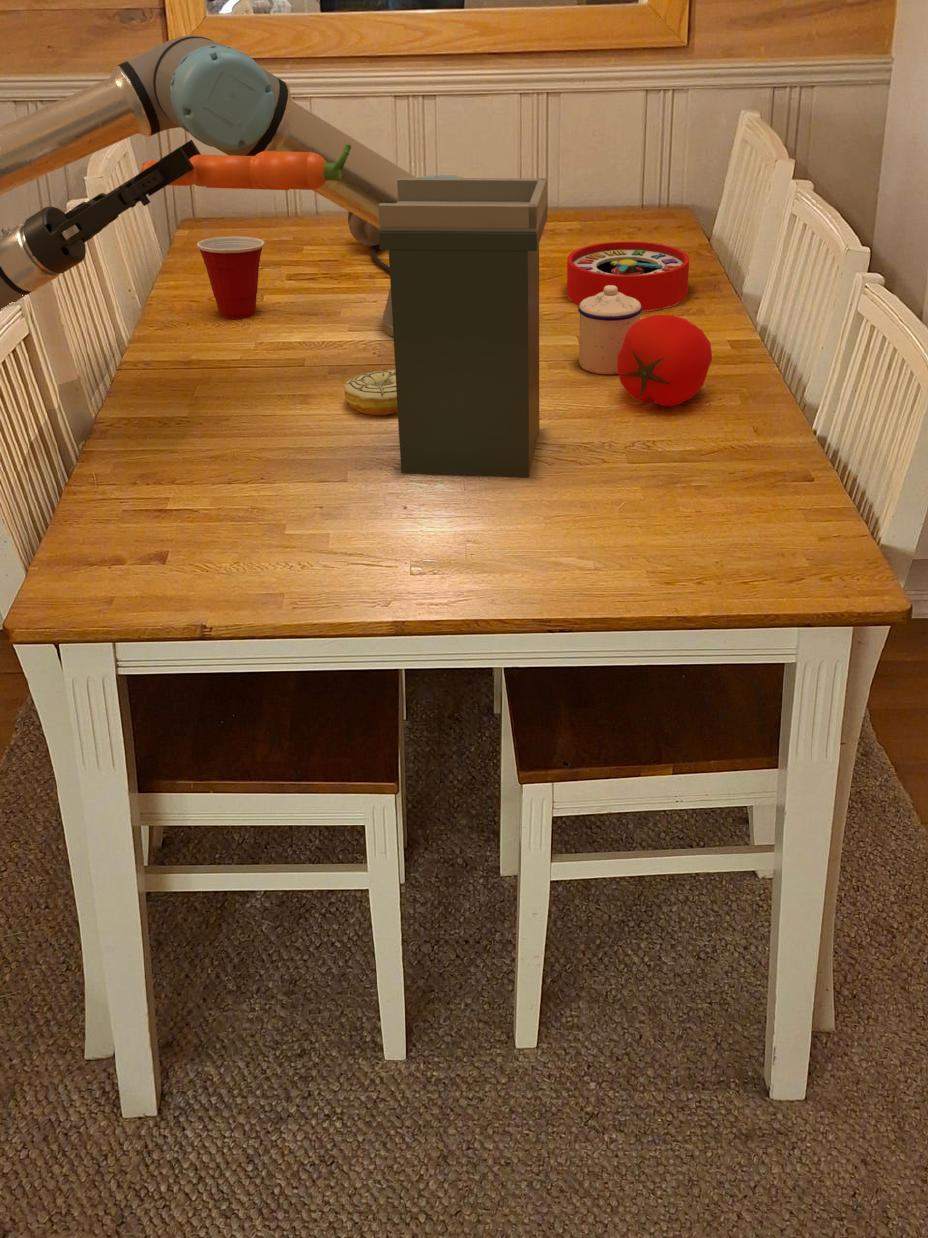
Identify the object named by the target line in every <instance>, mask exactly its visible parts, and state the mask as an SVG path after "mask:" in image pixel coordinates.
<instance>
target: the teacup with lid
mask: <svg viewBox="0 0 928 1238" xmlns="http://www.w3.org/2000/svg"><path fill="white" fill-rule="evenodd" d="M577 311H578V312H579V339H578V340H579V341H578V342H579V343H578V345H579V347H578V351H579V352H578V359H579V360H578V365H579V366H580V367H581V368H582V369H583V370H585V371H587V372H589V373H593V374H597V375H619V373H618V368H617V362H618V354H619V352H620V350H621V348H622V345H623V342H624V339H625V336H626V334H627V332H628V330H629V328H630V327H631V326H632V325H633V324H634V323H635V322H637V321H639V320H640V319H641V313H642V312H641V311H642V307H641V304H640V302H639V301H638V300H636V299H635V298H632V297H629V296H626V295H624V294H622V293H620V292H618V288H617V287H616V286H614V285H608V286H605V287H604V290H603V292H601V293H598V294H597V295H595V296H592V297H588V298H586V299H584V300H583V301H582V302H581V303H580V305H579V306H578V307H577Z"/></svg>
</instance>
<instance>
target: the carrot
mask: <svg viewBox="0 0 928 1238" xmlns="http://www.w3.org/2000/svg"><path fill="white" fill-rule="evenodd" d="M350 149H351V145H350V144H346V145H345V148H344V150H343V153H342V154H341V156H340V158H339V159H338V161H337V162H336V163H326V161H325V160H324V158H323V157H322V156H320V155H319V154H316V153H312V152H283V151H263V152H260V153H258V154H256V155H255V156H235V155H227V154H201V155H195V156H193V157H191V158H190V159H189V160H190V162H191V163H192V165H193V166H194V169H193V170H191V171H189V172H188V173H186V174H185V175H183V176H181V177H180V178H178V179H176V180H175V181H173V182H172V183H170V184H168V185H167V186H171V187H172V186H175V187H176V186H177V187H191V186H193V185H195V186H196V187H204V188H207V189H235V190H267V191H268V190H269V191H270V190H271V191H289V190H302V191H313V190H315V189H318V188H320V187H321V186H323V185H324V184H325V182H326V181H340V180H341V176H342V169H343V166H344V164H345V162H346V159H347V157H348V155H349V152H350ZM158 161H160V159H159V160H157V159H155V160H154V159H151V160H150V159H149V160H146V161H145V162H143V163H142V166H141V169H140V173H141V172H142V171H144V170H146V169H147V168H149V167H150V166H152V165H154V164H155V163H157V162H158Z"/></svg>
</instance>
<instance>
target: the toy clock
mask: <svg viewBox="0 0 928 1238" xmlns="http://www.w3.org/2000/svg"><path fill="white" fill-rule="evenodd" d="M566 258H567V259H566V296H567V299H569V300H570V301H571V302H573V303H574V304H576V305H580V303H581V302H582V301H583V300H584V299H586V298H588V297H592V296H595V295H597V294H598V293H601V292H603V290H604V287H605V286H608V285H614V286H616V287H617V288H618V292H620V293H622V294H624V295H626V296H629V297H632V298H635V299H636V300H638V301H639V302H640V304H641V307H642V311H641V313H645V312H653V311H660V310H664V309H668V308H672V307H674V306H677V305H679V304H680V303H682V302H684V301H685V300H686V299H687V298H688V294H689V293H688V292H689V275H690V274H689V273H690V272H689V271H690V256H689V255H688V253H686V252H685V251H683V250H682V249H680V248H677V247H674V246H671V245H667V244H663V243H655V242H647V241H609V242H608V241H607V242H601V243H595V244H590V245H586V246H583V247H579V248H577V249H575V250H574V251H572V252H570V253H569V254H568V256H567V257H566Z"/></svg>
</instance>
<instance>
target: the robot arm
mask: <svg viewBox="0 0 928 1238" xmlns="http://www.w3.org/2000/svg"><path fill="white" fill-rule="evenodd" d="M178 128H181V129H183V130H184V131H185V132H187V133H188V134H190V135H191V136H192V137H193V138H194V139H195V140H197V141H198V142H200V143H201V144H203V145H206V146H208V147H212V148H215V149H217V150H218V151H220V152H222V153H224V155H235V156H255V155H256V154H258V153H260V152H263V151H283V152H312V153H316V154H319V155H320V156H322V157H323V158H324V160H325V161H326V163H336V162H337V161H338V159H339V158H340V156H341V154H342V153H343V150H344V148H345V145H346V144H350V145H351V149H350V152H349V155H348V157H347V159H346V162H345V164H344V166H343V169H342V176H341V180H340V181H326V182H325V184H324V185H323V186H321V187H320V188H318V189H315V190H312V191H313V192H315V193H316V194H318V195H320V196H322V197H323V198H325V199H327V200H329V201H330V202H332V203H333V204H335V205H337V206H339V207H341V208H342V209H344V210H346V211H347V212H348V213H349V212H351V213H353V214H355V215H356V216H358V217H360V218H361V219H363V220H365V221H367V222H368V223H370V224H372V225H374V226H375V227H377V228H379V229H380V226H379V209H378V205H379V204H380V203H397V202H398V187H397V179H398V178H462V176H459V175H453V174H436V175H424V176H415V175H414V174H411V173H410V172H408V171H406V170H405V169H404V168H402V167H401V166H399V165H397V164H396V163H394V162H392V161H390V160H389V159H388V158H386V157H384V156H383V155H381V154H379V153H377V152H376V151H374V150H373V149H371V148H370V147H368V146H366V145H365V144H363V143H361V142H360V141H358V140H357V139H354V137H351V136H350V135H348V134H347V133H345V132H344V131H342V130H340V129H339V128H337V127H336V126H334V125H332V124H330V123H329V122H327V121H326V120H324V119H322V118H320V117H319V116H317V115H316V114H314V113H313V112H311V111H310V110H308V109H306V108H304V107H303V106H301V105H300V104H299V103H297V102H295V101H293V98H292V92H291V88H290V86H289V85H288V83H287V82H285V81H284V80H282V79H281V78H279V77H278V76H276V75H274V74H273V73H271V72H269V71H268V70H266V69H265V68H263V67H261V65H260V64H258V63H256V61H255V59H253V58H252V57H251V56H250V55H248V54H246V53H245V52H243V51H241V50H239V49H237V48H235V47H231V46H228V45H225V44H221V43H219V42H217V41H214V40H212V39H210V38H207V37H205V36H200V35H195V34H194V35H183V36H179V37H174V38H172V39H169V40H168V41H164V42H163V43H161V44H158V45H157V46H154V47H152V48H150V49H148V50H146V51H145V52H142V53H140V54H138V55H136V56H134V57H132V58H130V59H128V60H126V61H124V62H121V63H119V64H117V65H115V66H114V67H113V70H112V73H111V75H110V77H108V78H106V79H104V80H102V81H100V82H97V83H95V84H93V85H91V86H88V87H86V88H84V89H82V90H79V91H77V92H75V93H73V94H71V95H69V96H66V97H64V98H62V99H59V100H57V101H55V102H53V103H50V104H47V105H46V106H43V107H42V108H39V109H37V110H34V111H33V112H31V113H28V114H26V115H23V116H21V117H19V118H16V119H15V120H12V121H11V122H8V123H6V124H3V125H1V126H0V196H2V195H4V194H6V193H9V192H11V191H13V190H15V189H17V188H20V187H21V186H24V185H26V184H29V183H31V182H33V181H35V180H37V179H40V178H43V177H44V176H46V175H48V174H50V173H52V172H55V171H57V170H60V169H62V168H64V167H66V166H68V165H70V164H72V163H75V162H77V161H79V160H82V159H83V158H86V157H88V156H90V155H93V154H94V153H97V152H99V151H101V150H103V149H105V148H108V147H110V146H113V145H115V144H117V143H119V142H121V141H123V140H125V139H128V138H131V137H132V136H134V135H141V136H144V137H147V138H150V137H152V136H154V135H156V134H158V133H161V132H164V131H166V130H171V129H178ZM195 155H202V153H201V152H200V151H199V148H198V147H197V146H196V144H195V142H194V141H193V139H189V141H187V142H186V143H184V144H182V145H181V146H179V147H178V148H176V149H174V150H173V151H171V152H169V153H168V154H166V155H165V156H163V157H162V158H160V159H159V160H160V161H158V162H157V163H155V164H154V165H152V166H150V167H149V168H147V169H146V170H144V171H142V172H141V171H140V172H139V173H137V175H134V176H133V177H132V178H130V179H128V180H127V181H125V182H123V183H122V184H120V185H119V186H117V187H115V188H113V189H112V190H111V191H109V192H107V193H105V192H100V193H98V195H96V196H94V197H92V198H91V199H89V200H88V201H82V202H80V203H79V204H77V205H75V206H74V207H73V208H72V209H70V210H69V211H67V212H66V213H65V211H63V210H62V209H59V208H58V207H55V206H49V205H48V206H45V207H43V208H42V209H41V210H39V211H37V212H35V213H33V214H32V215H31V216H29V217H28V218H27V219H26V220H25V221H24V222H20V223H19V224H17V225H16V226H14V227H13V228H12V229H10V228H9V226H4V227H2V228H1V233H2V235H0V309H1V308H3V307H5V306H7V305H9V303H11V302H15V303H17V302H18V301H20V300H22V299H23V298H24V297H26V296H27V295H29V294H31V293H32V292H36V291H38V290H39V289H41V288H42V287H44V286H45V285H47V284H48V283H50V282H52V281H54V280H55V279H57V278H58V277H60V275H61V274H64V273H66V272H67V271H69V270H71V269H72V268H74V267H76V266H77V265H79V264H80V263H82V262H83V261H84V260H85V258H86V254H87V246H86V243H87V242H88V241H89V240H91V239H92V238H94V237H95V236H96V235H97V234H100V233H101V232H102V231H103V229H105V228H106V227H107V226H109V224H111V223H112V222H114V221H116V220H117V219H118V218H119V215H121V214H122V213H124V212H126V211H127V210H129V209H132V208H133V209H134V207H136V205H137V204H138V203H139V202H141V204H142V206H143V207H146V206H148V205H149V204H150V203H151V200H150V199H149V197H150V196H152V195H154V194H156V193H157V192H158V191H160V190H162V189H164V188H165V187H167V186H169V185H168V184H170V183H172V182H173V181H175V180H176V179H178V178H180V177H181V176H183V175H185V174H186V173H188V172H189V171H191V170H193V169H194V166H193V165H192V163H191V162H190V160H189V159H190V158H191V157H193V156H195ZM376 251H377V248H376V246H371V247H370V257H371V259H372V261H373V263H375V264H376V265H377V266H378V267H379V268H381V269H383V270H384V271H386V272H388V273H390V266H389V265H387V264H385V263H384V262H382V260H380V259H379V257H378V256H377V254H376ZM22 295H23V296H22ZM25 295H26V296H25ZM382 326H383V331H384V332H385V333H386V334H387V335H389V336H391V337H393V319H392V301H391V286H390V287H389V291H388V295H387V299H386V303H385V307H384V310H383V316H382ZM393 338H394V337H393Z"/></svg>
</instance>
